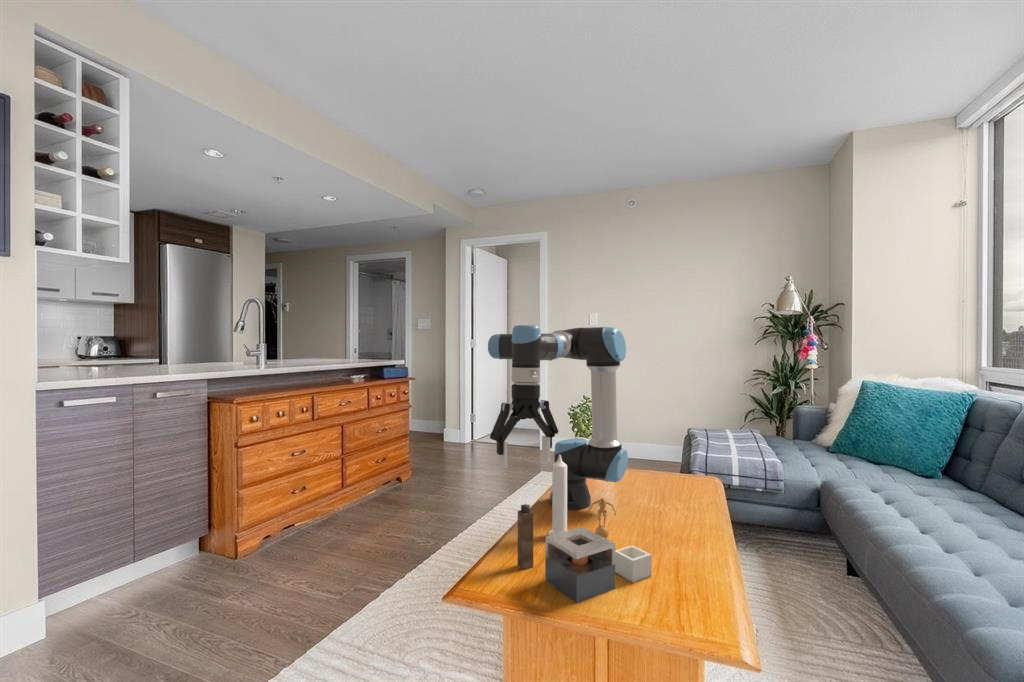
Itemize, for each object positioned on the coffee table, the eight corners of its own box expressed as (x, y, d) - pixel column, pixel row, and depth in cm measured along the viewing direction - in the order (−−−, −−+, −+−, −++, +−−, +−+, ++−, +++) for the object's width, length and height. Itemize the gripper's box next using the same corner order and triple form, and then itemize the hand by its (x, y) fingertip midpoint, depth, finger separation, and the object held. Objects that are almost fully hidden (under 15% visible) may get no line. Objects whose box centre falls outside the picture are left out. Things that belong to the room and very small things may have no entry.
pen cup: (613, 572, 124) (613, 550, 124) (632, 565, 127) (632, 545, 127) (632, 583, 118) (632, 560, 118) (651, 576, 122) (651, 554, 122)
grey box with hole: (545, 580, 119) (545, 536, 119) (582, 568, 125) (582, 526, 125) (576, 603, 109) (576, 554, 109) (615, 588, 115) (615, 543, 115)
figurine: (587, 540, 143) (587, 500, 143) (589, 532, 149) (589, 494, 149) (615, 543, 141) (615, 502, 141) (616, 535, 147) (616, 496, 147)
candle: (543, 536, 146) (543, 454, 146) (557, 529, 152) (557, 450, 152) (561, 542, 142) (562, 458, 142) (575, 535, 147) (576, 454, 147)
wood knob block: (517, 565, 127) (517, 505, 127) (526, 562, 129) (527, 503, 129) (523, 570, 125) (523, 508, 125) (533, 567, 126) (533, 506, 126)
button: (568, 571, 118) (568, 546, 118) (580, 567, 120) (580, 543, 120) (578, 578, 114) (578, 552, 114) (591, 573, 116) (591, 549, 116)
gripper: (491, 386, 117) (491, 473, 117) (571, 382, 130) (570, 461, 130) (477, 384, 123) (476, 466, 123) (554, 380, 136) (554, 455, 136)
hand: (525, 463), depth 126 cm, fingers open, 13 cm apart
